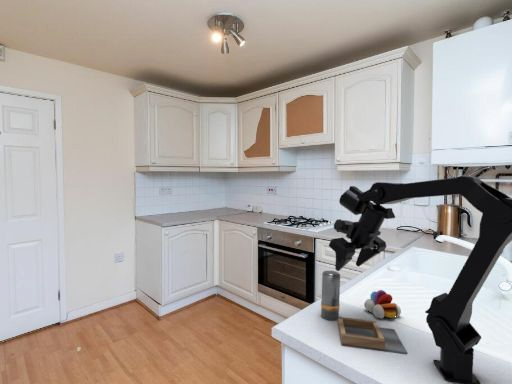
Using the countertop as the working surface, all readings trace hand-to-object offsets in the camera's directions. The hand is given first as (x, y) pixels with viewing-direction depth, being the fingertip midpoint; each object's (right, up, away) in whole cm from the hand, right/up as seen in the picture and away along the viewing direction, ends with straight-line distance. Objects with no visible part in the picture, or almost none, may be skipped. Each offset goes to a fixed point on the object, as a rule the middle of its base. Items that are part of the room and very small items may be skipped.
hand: (347, 267), depth 84 cm
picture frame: (+2, -16, -10) cm, 19 cm away
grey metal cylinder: (-5, -15, +1) cm, 16 cm away
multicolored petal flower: (+12, -16, +4) cm, 20 cm away
